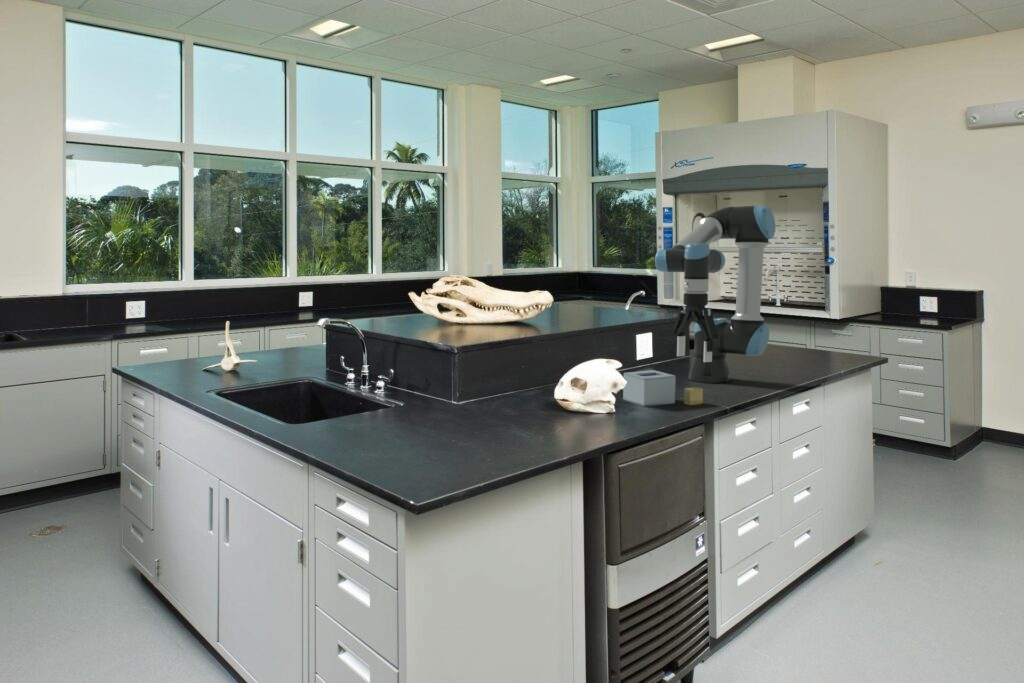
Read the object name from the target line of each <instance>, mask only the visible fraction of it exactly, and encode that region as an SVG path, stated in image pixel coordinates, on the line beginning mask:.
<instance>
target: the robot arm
mask: <svg viewBox="0 0 1024 683" xmlns="http://www.w3.org/2000/svg"><path fill="white" fill-rule="evenodd" d="M775 220H776V219H775V216H774V213H773V211H772V209H771V208H770V207H769V206H766V205H749V206H748V205H747V206H746V205H745V206H742V205H741V206H727V207H726V206H725V207H723V208H720V209H717V210H715V211H713V212H711V213H709V214H707V215H706V216H704V217H703V218H702V219H701V220H700V221H699V222H698V224H697V226H696V227H695V228H694V229H692V231H691V232H689V233H687V235H685V236H684V237H683V238H682V239H681V240H679V241H678V242H677V243H675V245H673V246H672V247H670V249H667V248H666V249H658V251H657V252H656V254H655V257H654V265H655V268H656V270H657V271H658V272H662V273H684V274H683V275H684V276H683V278H684V281H683V291H684V292H685V293H683V305H681V306H679V307H678V314H677V317H676V319H675V322H674V325H673V329H672V331H671V332H672V334H675V336H676V357H685V356H686V339H687V338H686V334H685V333H686V332H687V330H688V329H689V327H690V326H691V323H692V322H693V323H695V325H694V326H695V327H694V341H693V342H694V343H693V344H694V348H693V350H694V352H693V353H694V354H693V361H692V364H691V367H690V369H689V370H690V371H689V373H688V380H690V381H693V382H699V383H706V384H707V383H708V384H709V383H710V384H713V383H714V384H715V383H716V384H718V383H727V382H730V381H731V373H730V371H729V367H728V363H727V359H726V358H727V356H726V355H727V354H728V355H738V356H747V357H750V356H751V357H753V356H754V357H758V356H761V355H762V354H763V353H764V352H765V350H766V349H767V346H768V343H769V339H770V328H769V326H768V325H767V324H765V318H764V317H763V316H762V315H761V302H762V301H761V300H762V286H763V284H762V282H763V271H764V270H763V266H764V251H765V250H764V249H765V248H766V247H767V246H768V245H769V240H770V239H771V240H772V239H774V236H775V233H776V221H775ZM724 239H726V240H727V239H730V240H731V239H732V240H734V244H735V245H736V246H737V247H738V262H737V263H738V264H737V279H736V281H737V283H736V297H735V298H736V299H735V300H736V301H735V313H734V315H733V316H731V318H730V322H728V318H725V317H723V318H722V317H721V318H719V317H718V318H714V317H713V309H711V308H708V309H707V308H706V306H707V305H708V302H709V294H708V291H709V281H710V280H709V274H715V273H718V272H721V270H722V269H724V267H725V265H726V257H725V255H724V253H723V252H721V251H720V250H718V249H715V248H711V249H710V244H711V243H715V242H718V241H719V240H724Z"/></svg>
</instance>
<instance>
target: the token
mask: <svg viewBox="0 0 1024 683" xmlns="http://www.w3.org/2000/svg"><path fill="white" fill-rule="evenodd" d="M683 391H684V392H683V394H684V395H683V396H684V398H683V399H684V400H683V404H685V405H687V406H688V405H689V406H695V405H696V406H697V405H703V398H704V397H703V396H704V388H701V387H697V386H695V387H685V388H684V390H683Z"/></svg>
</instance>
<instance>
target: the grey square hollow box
mask: <svg viewBox="0 0 1024 683" xmlns="http://www.w3.org/2000/svg"><path fill="white" fill-rule="evenodd" d="M676 377H677V376H676V375H674V374H671V373H666V372H663V371H658V370H655V369H654V370H653V369H651V370H640V371H638V370H637V371H629V372H623V378H624V379H625V380H626V381H627V384H626V386H625V387H624V388H622V390H623V391H622V392H623V393H622V396H623V397H622V400H623V401H626V402H629V403H632V404H635V405H638V406H640V407H643V408H644V407H645V408H646V407H652V406H660V405H670V404H671V405H672V404H675V403H676V379H677V378H676Z"/></svg>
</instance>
